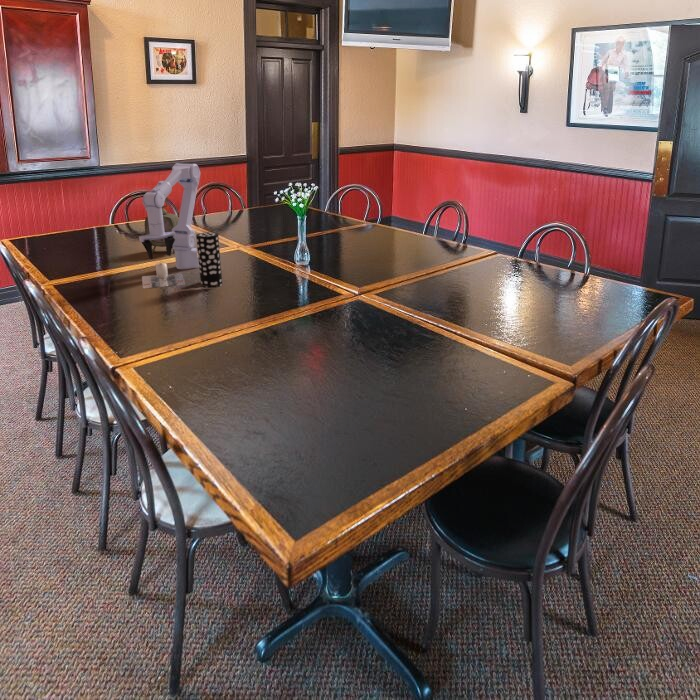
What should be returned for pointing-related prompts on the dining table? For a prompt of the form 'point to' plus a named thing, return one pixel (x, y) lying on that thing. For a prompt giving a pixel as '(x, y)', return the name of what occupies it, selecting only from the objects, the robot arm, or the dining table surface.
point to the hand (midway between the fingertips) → (160, 256)
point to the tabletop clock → (169, 224)
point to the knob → (161, 270)
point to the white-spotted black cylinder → (209, 259)
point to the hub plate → (163, 280)
